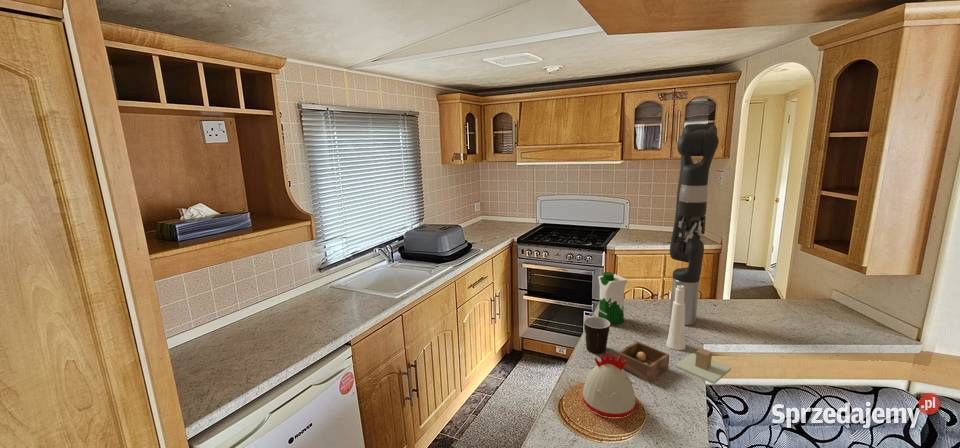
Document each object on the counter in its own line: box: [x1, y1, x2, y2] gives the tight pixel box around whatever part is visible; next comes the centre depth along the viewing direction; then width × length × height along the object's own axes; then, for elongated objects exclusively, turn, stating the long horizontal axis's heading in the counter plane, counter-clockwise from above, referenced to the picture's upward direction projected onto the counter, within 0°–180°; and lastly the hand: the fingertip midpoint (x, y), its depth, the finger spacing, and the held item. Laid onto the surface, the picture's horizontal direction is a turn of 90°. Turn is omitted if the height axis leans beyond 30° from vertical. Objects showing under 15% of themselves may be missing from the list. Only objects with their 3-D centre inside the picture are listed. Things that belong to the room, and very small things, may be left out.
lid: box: [674, 347, 732, 385], centre depth 122 cm, size 12×12×6 cm
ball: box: [636, 352, 646, 361], centre depth 127 cm, size 3×3×3 cm
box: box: [616, 340, 670, 384], centre depth 124 cm, size 11×11×5 cm
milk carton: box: [597, 271, 628, 326], centre depth 155 cm, size 9×9×20 cm
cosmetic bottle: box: [665, 285, 687, 351], centre depth 134 cm, size 6×6×22 cm
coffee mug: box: [583, 316, 611, 355], centre depth 134 cm, size 12×9×10 cm
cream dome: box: [581, 350, 636, 417], centre depth 107 cm, size 14×14×15 cm
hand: (688, 250), depth 123 cm, fingers open, 8 cm apart
